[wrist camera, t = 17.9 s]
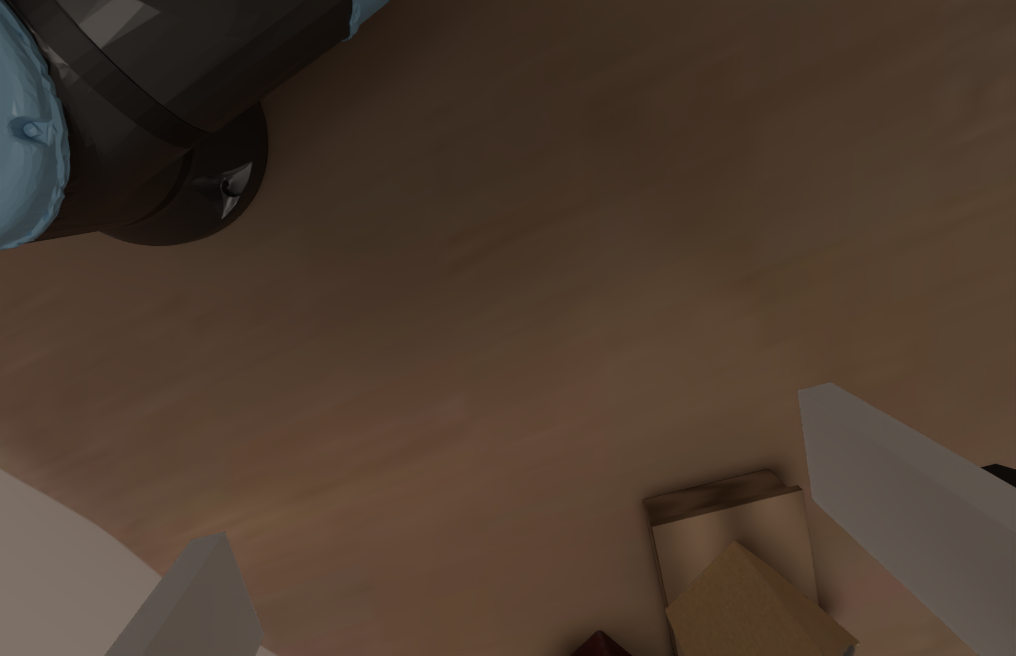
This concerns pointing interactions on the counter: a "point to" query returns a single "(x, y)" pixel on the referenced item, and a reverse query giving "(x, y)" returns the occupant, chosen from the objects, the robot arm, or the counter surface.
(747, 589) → the sandwich container
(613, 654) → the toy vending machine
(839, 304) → the counter surface
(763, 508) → the walnut stand
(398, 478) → the counter surface
